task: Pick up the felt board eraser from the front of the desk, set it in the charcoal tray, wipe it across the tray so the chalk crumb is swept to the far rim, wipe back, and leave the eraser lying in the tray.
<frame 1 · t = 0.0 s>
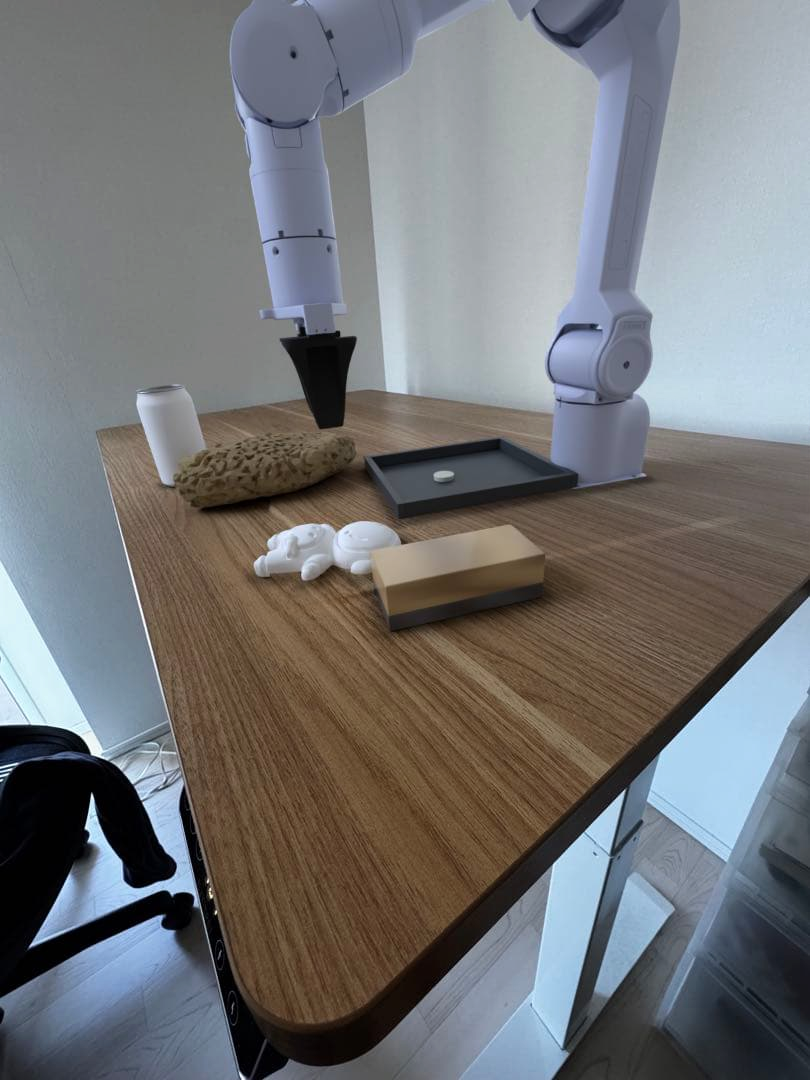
hand: (325, 418, 41), 10 cm above the table, tool pointing down, fingers open, 7 cm apart
eraser: (455, 594, 32), on the table
sponge: (279, 491, 55), on the table
astronaut figurine: (330, 559, 38), on the table
chalk crumb: (443, 478, 52), point 1 cm above the table, touching tray
tray: (459, 481, 53), on the table
can: (188, 480, 61), on the table
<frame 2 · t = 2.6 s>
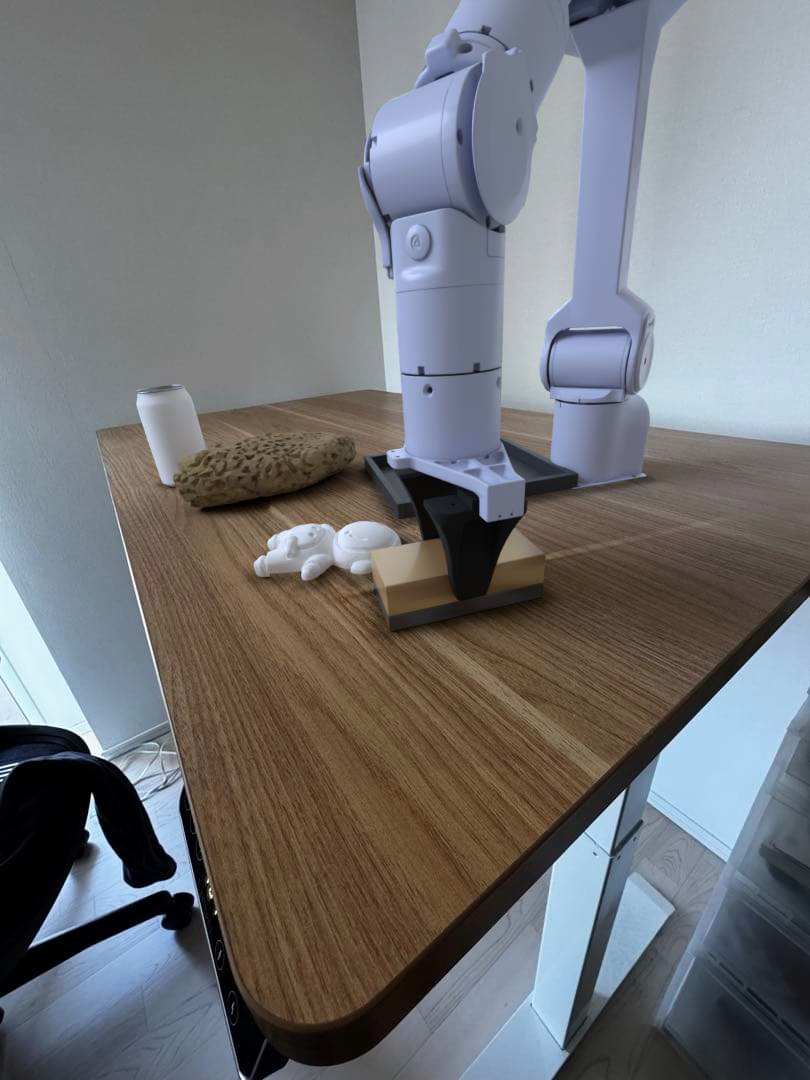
hand: (455, 574, 31), 2 cm above the table, tool pointing down, fingers closed on eraser, 5 cm apart
eraser: (455, 594, 32), on the table, touching gripper
everything else where it was.
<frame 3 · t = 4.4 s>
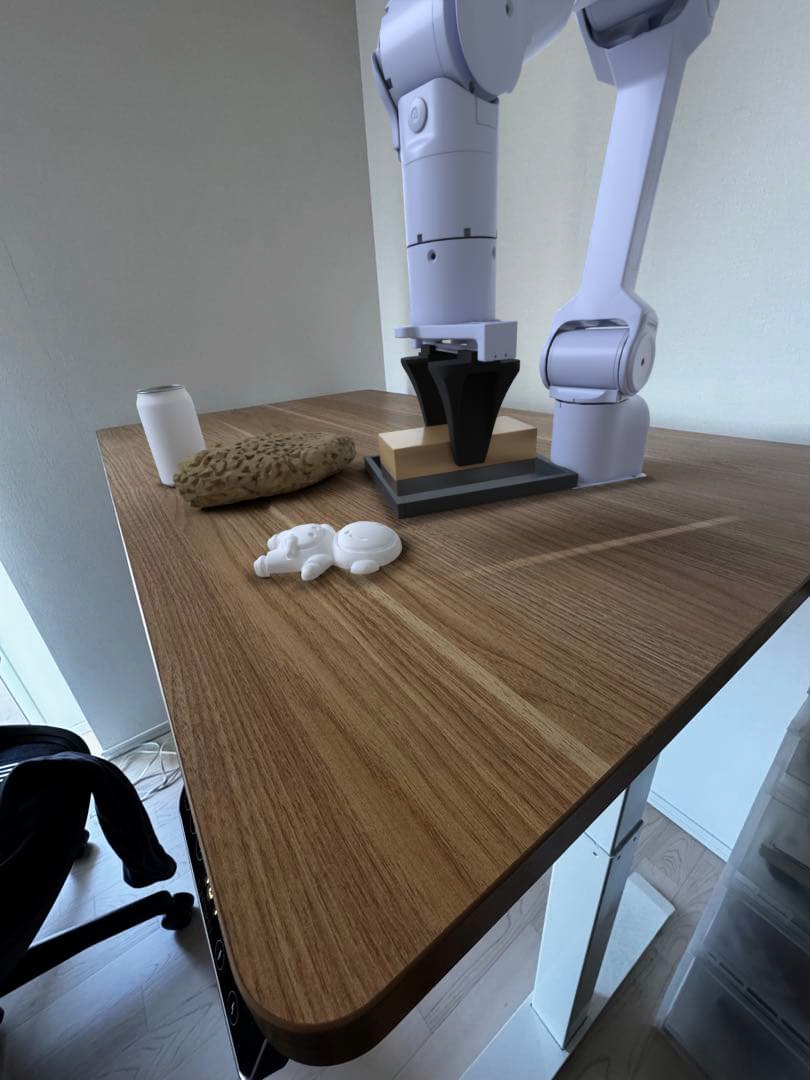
hand: (455, 453, 35), 8 cm above the table, tool pointing down, fingers closed on eraser, 5 cm apart
eraser: (456, 474, 35), point 7 cm above the table, touching gripper
everything else where it was.
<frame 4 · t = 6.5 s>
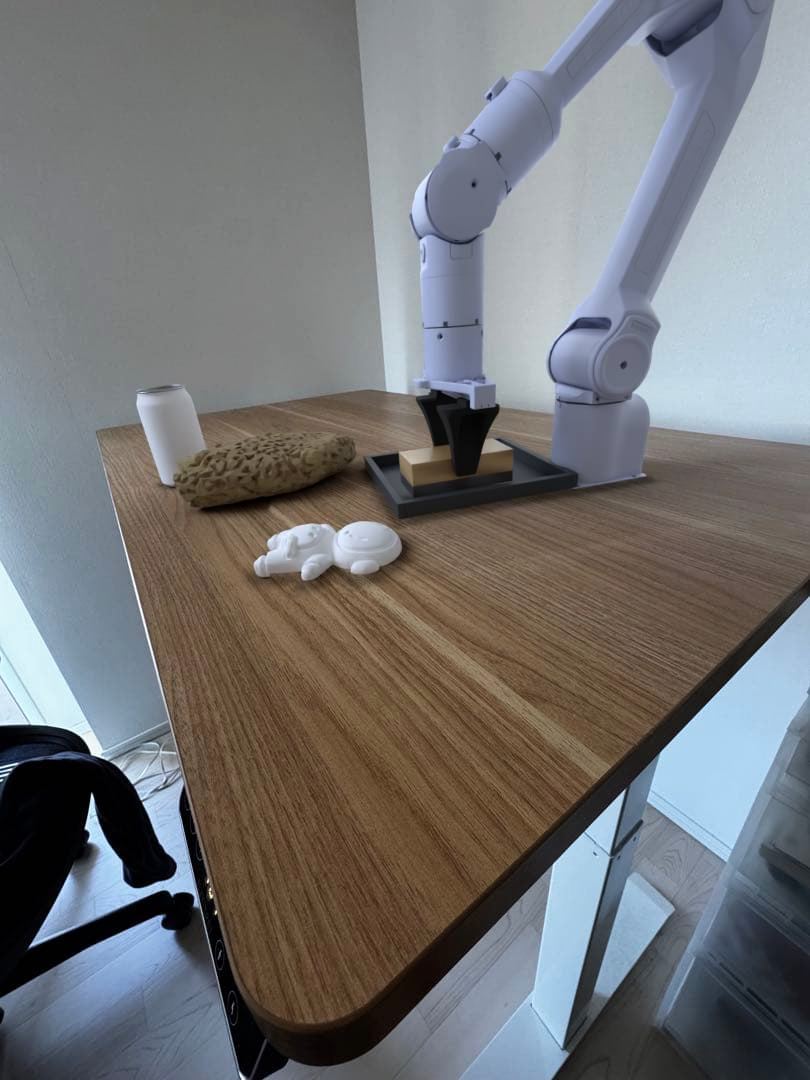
hand: (455, 466, 48), 3 cm above the table, tool pointing down, fingers closed on eraser, 5 cm apart
eraser: (455, 481, 48), point 2 cm above the table, touching gripper
everything else where it was.
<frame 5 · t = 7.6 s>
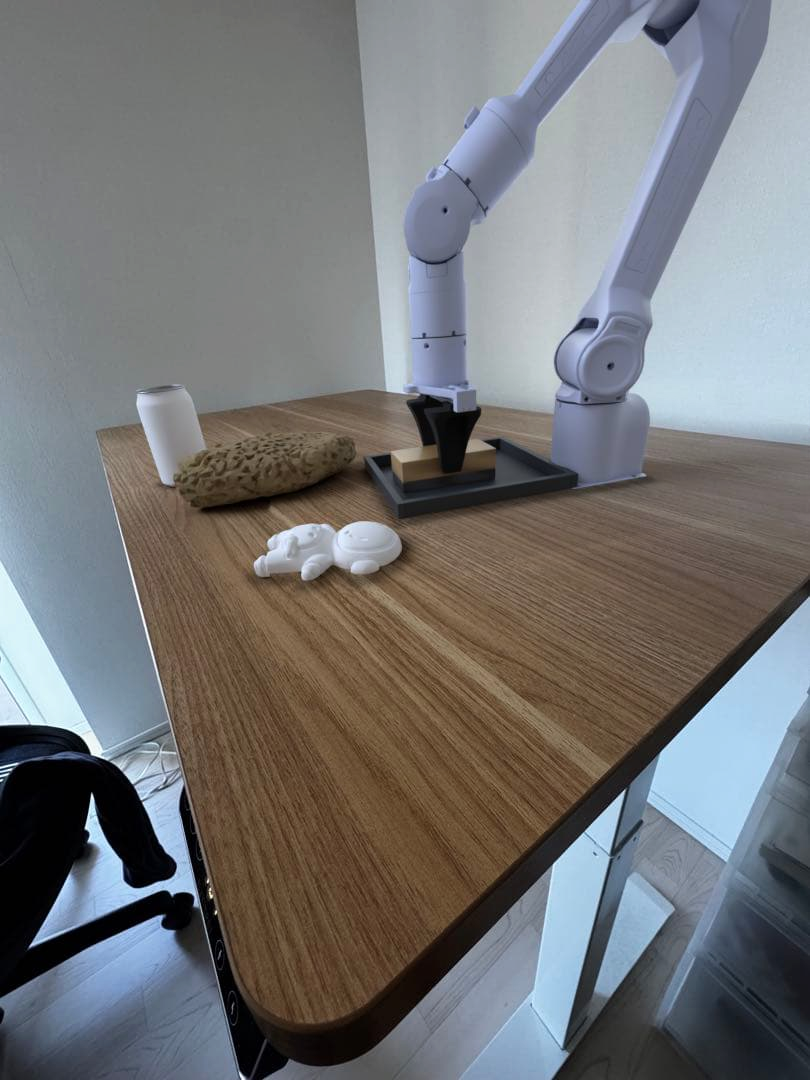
hand: (443, 464, 52), 2 cm above the table, tool pointing down, fingers closed on eraser, 5 cm apart
eraser: (443, 478, 52), point 1 cm above the table, touching gripper
chalk crumb: (433, 469, 56), point 1 cm above the table
everything else where it was.
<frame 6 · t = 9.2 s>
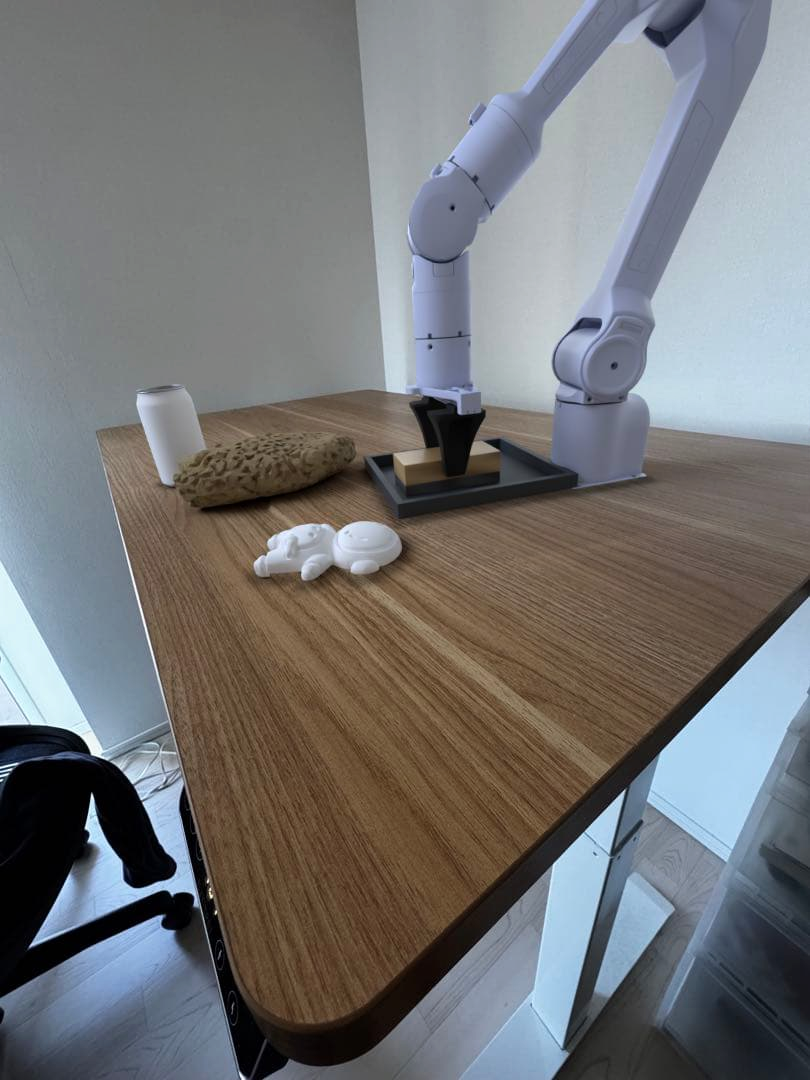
hand: (446, 467, 51), 2 cm above the table, tool pointing down, fingers closed on eraser, 5 cm apart
eraser: (446, 481, 51), point 1 cm above the table, touching gripper, tray
chalk crumb: (427, 464, 58), point 1 cm above the table, touching tray
everything else where it was.
when the fingers open (2 cm above the table, at t = 10.3 s): eraser stays where it is, resting on tray.
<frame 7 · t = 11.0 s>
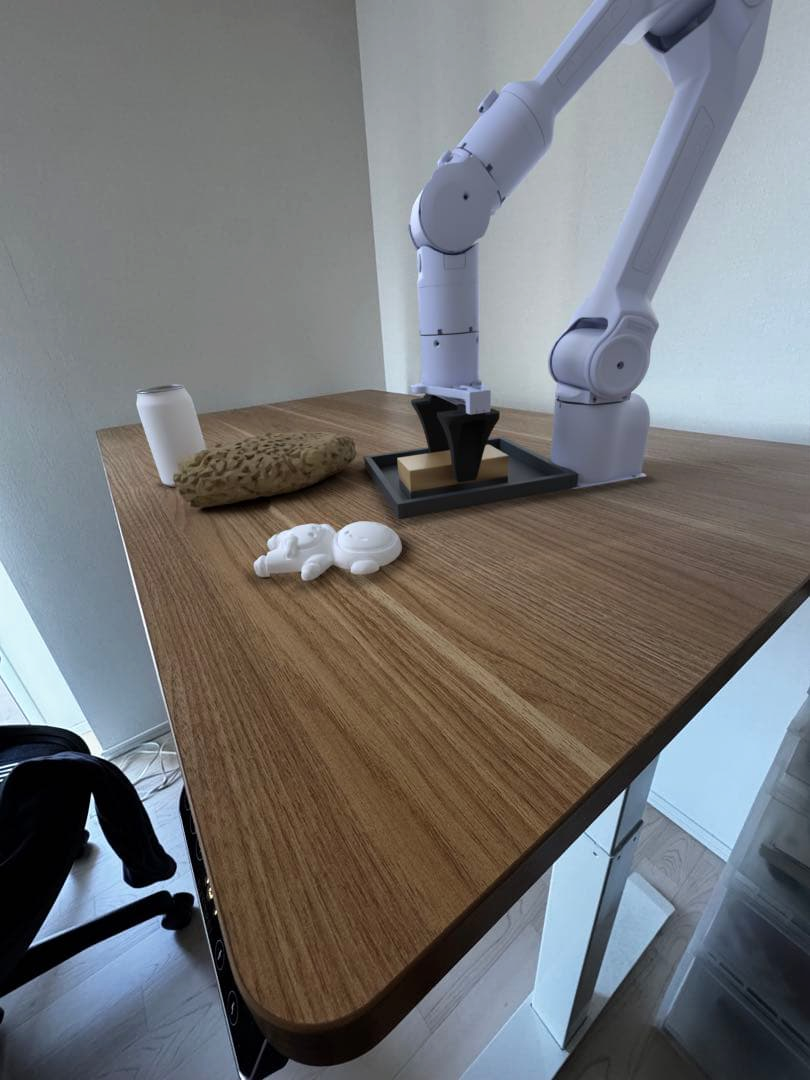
hand: (452, 469, 49), 3 cm above the table, tool pointing down, fingers open, 7 cm apart
eraser: (452, 487, 50), point 1 cm above the table, touching tray
everything else where it was.
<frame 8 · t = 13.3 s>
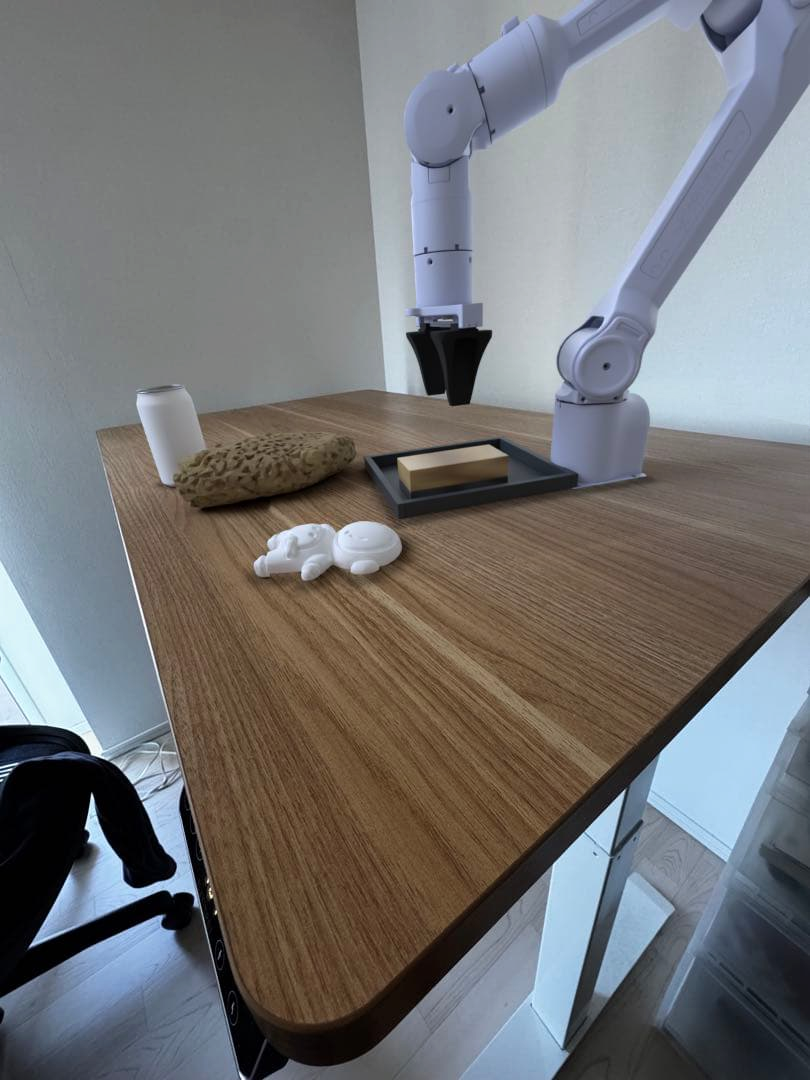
hand: (446, 399, 50), 9 cm above the table, tool pointing down, fingers open, 7 cm apart
nothing on the table moved.
at the end: eraser inside the target area in the tray (3.0 cm from its centre), point 0.6 cm above the tray's base; chalk crumb inside the target area in the tray (2.1 cm from its centre), point 0.6 cm above the tray's base; the gripper is holding nothing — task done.
